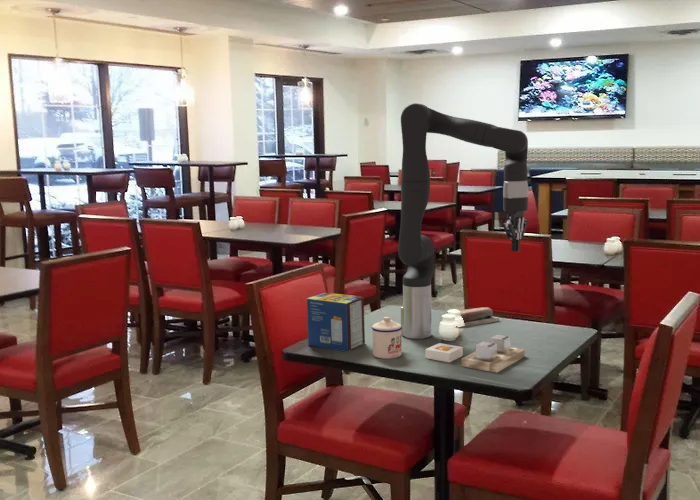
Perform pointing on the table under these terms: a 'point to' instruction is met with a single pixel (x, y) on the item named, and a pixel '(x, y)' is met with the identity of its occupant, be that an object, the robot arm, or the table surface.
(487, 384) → the table surface
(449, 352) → the box
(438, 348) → the button
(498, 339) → the block
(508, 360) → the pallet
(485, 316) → the packaged product
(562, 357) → the table surface
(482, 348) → the steel billet
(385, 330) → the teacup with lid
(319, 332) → the protein box
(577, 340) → the table surface
